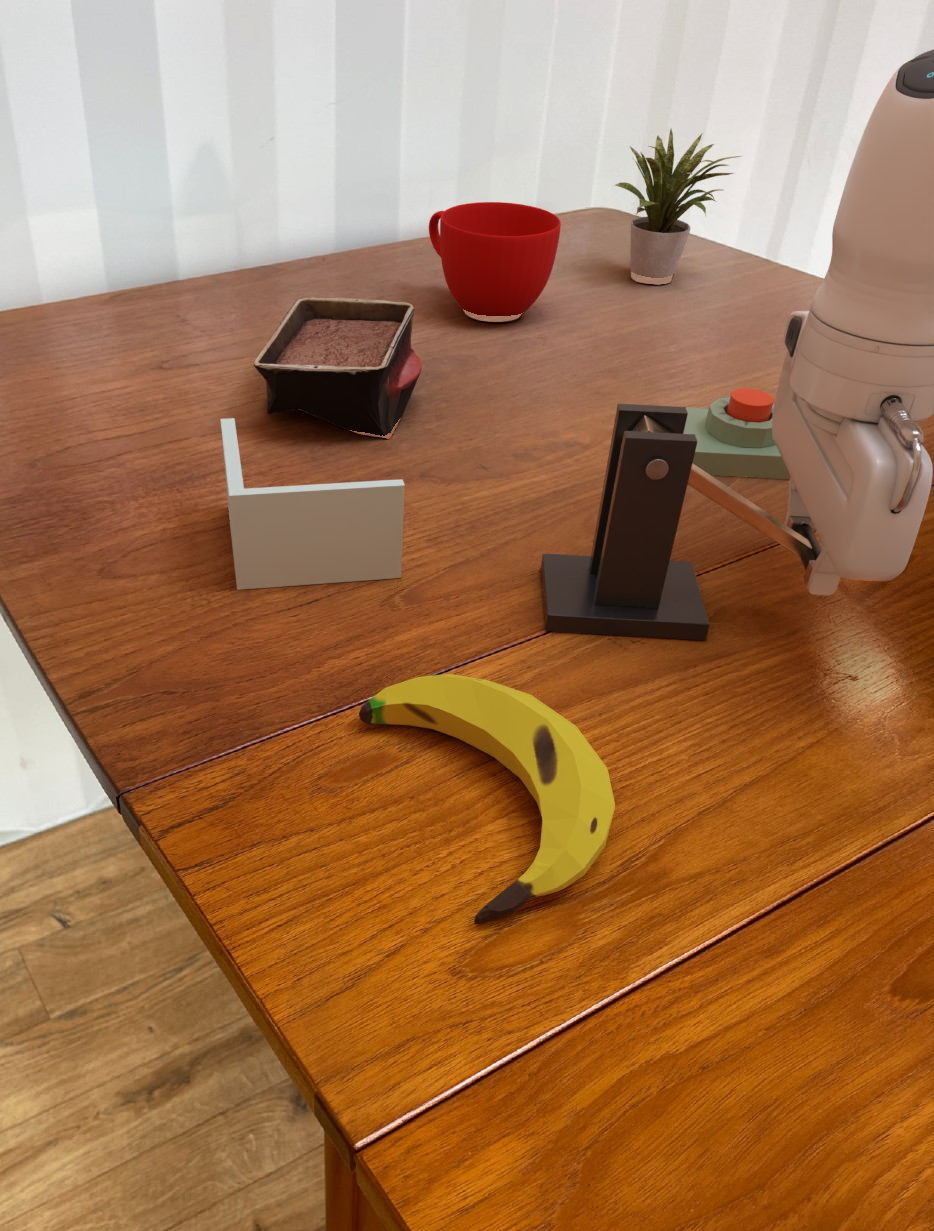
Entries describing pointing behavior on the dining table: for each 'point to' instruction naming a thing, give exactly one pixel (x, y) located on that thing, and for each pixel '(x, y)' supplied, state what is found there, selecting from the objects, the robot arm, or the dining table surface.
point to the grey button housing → (734, 444)
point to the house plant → (666, 207)
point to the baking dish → (343, 362)
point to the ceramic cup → (495, 254)
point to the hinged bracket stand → (633, 541)
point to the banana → (517, 769)
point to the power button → (750, 405)
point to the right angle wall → (311, 528)
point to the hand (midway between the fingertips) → (806, 563)
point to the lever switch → (747, 508)
